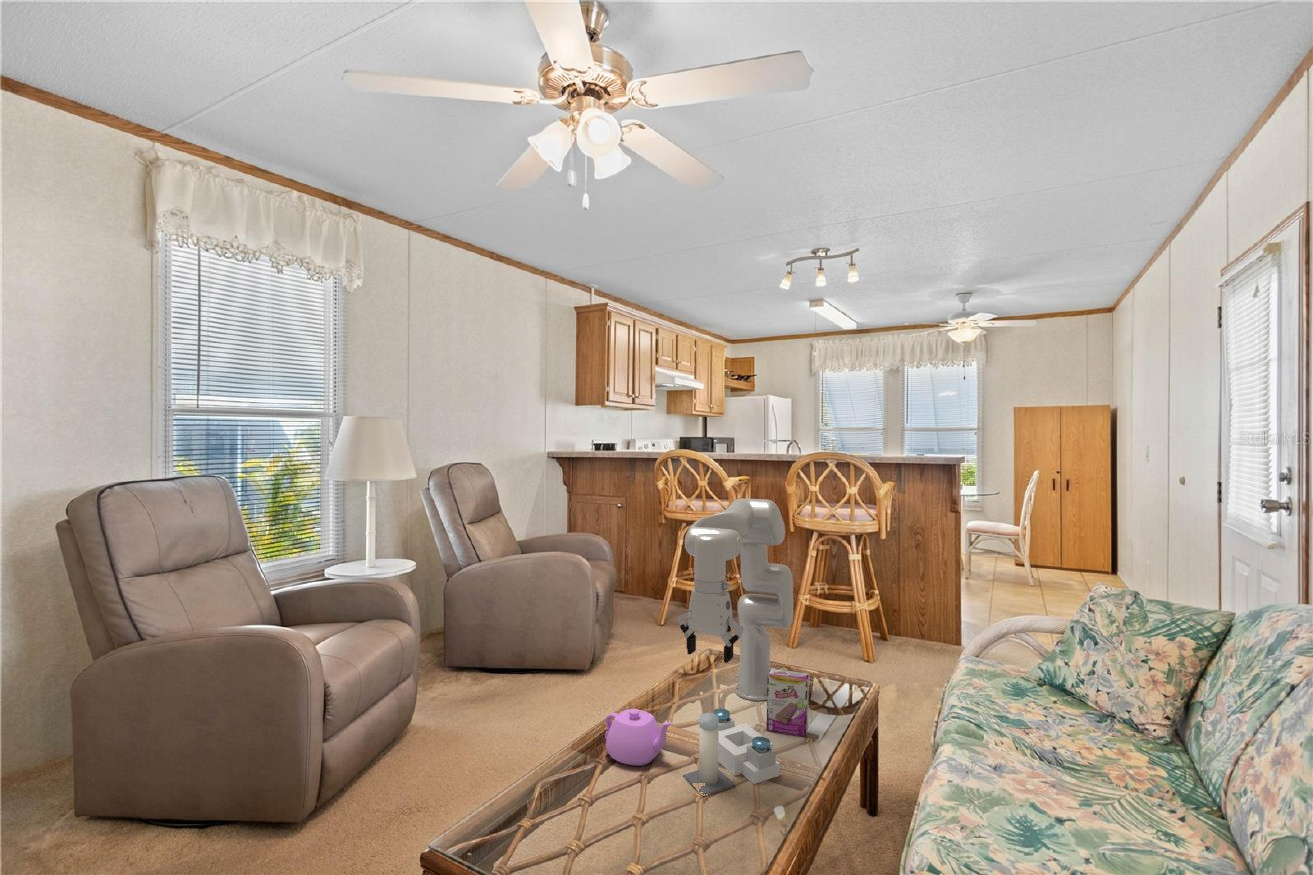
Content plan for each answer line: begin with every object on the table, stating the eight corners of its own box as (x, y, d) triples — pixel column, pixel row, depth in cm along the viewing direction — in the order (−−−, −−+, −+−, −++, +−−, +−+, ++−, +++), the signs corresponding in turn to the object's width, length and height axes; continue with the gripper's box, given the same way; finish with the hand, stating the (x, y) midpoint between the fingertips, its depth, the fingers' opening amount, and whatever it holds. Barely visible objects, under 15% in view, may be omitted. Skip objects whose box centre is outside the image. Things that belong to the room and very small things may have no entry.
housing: (697, 743, 164) (697, 719, 164) (734, 733, 170) (734, 710, 170) (747, 786, 145) (747, 759, 145) (786, 773, 151) (786, 747, 150)
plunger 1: (710, 728, 166) (710, 710, 166) (723, 725, 168) (723, 707, 168) (719, 736, 162) (719, 717, 162) (732, 732, 164) (733, 713, 164)
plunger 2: (748, 759, 151) (748, 739, 151) (762, 754, 153) (762, 734, 153) (759, 768, 147) (759, 747, 147) (773, 763, 149) (773, 743, 149)
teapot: (591, 759, 157) (591, 713, 156) (618, 735, 168) (618, 693, 168) (660, 780, 147) (660, 732, 147) (683, 754, 159) (684, 709, 159)
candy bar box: (766, 732, 171) (766, 673, 170) (768, 723, 176) (769, 667, 175) (807, 738, 167) (807, 679, 167) (808, 730, 172) (809, 672, 172)
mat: (682, 777, 149) (682, 774, 149) (713, 767, 153) (713, 765, 153) (703, 797, 141) (703, 794, 141) (734, 786, 145) (734, 783, 145)
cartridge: (704, 771, 150) (705, 711, 150) (721, 777, 148) (722, 715, 147) (695, 781, 146) (695, 719, 146) (712, 787, 144) (713, 724, 143)
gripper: (749, 587, 144) (749, 659, 145) (685, 577, 154) (685, 645, 154) (736, 595, 138) (736, 670, 138) (670, 584, 147) (670, 654, 148)
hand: (709, 656), depth 146 cm, fingers open, 9 cm apart
